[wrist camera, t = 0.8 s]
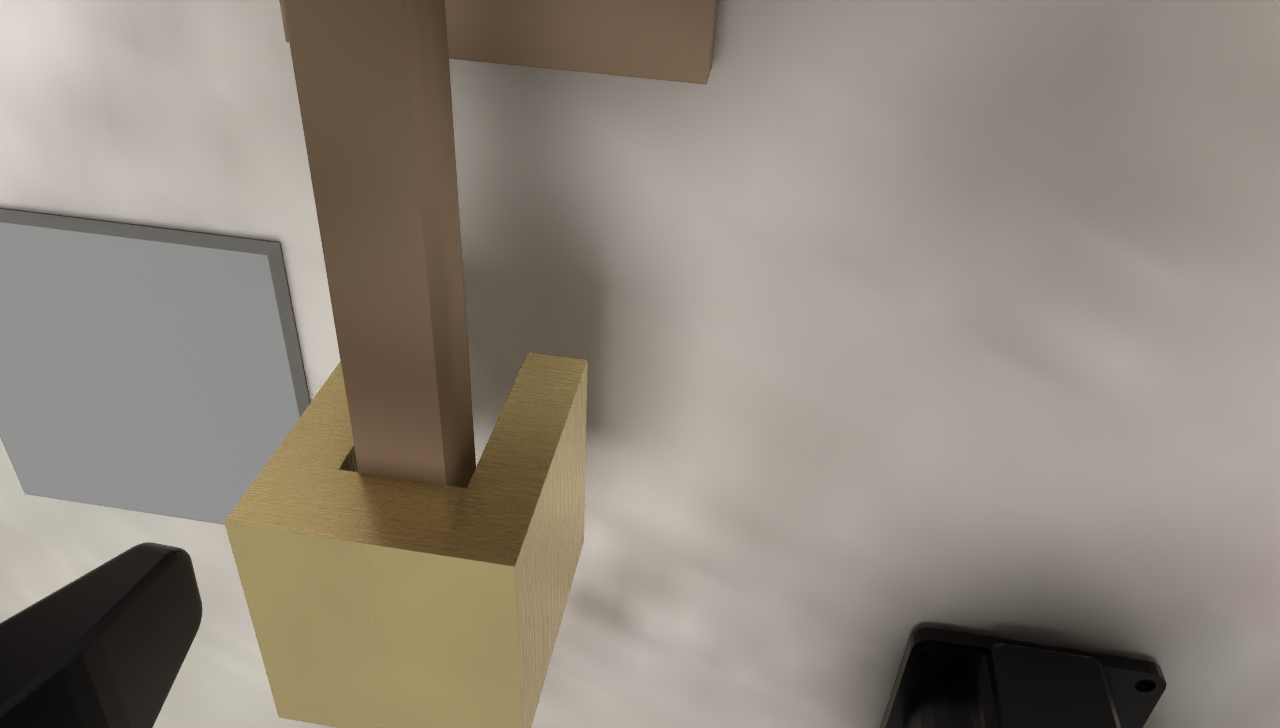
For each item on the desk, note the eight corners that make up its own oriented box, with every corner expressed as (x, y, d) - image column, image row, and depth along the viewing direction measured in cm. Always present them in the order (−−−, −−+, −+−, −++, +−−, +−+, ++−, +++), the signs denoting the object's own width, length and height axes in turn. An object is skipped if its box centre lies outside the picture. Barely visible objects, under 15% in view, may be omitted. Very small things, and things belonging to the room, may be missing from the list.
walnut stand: (668, 536, 25) (623, 778, 20) (378, 493, 26) (255, 714, 21) (763, -496, 14) (720, -628, 8) (228, -517, 14) (-157, -653, 9)
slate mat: (333, 524, 27) (323, 539, 27) (38, 480, 28) (25, 494, 28) (279, 243, 22) (267, 255, 22) (-79, 199, 23) (-99, 210, 22)
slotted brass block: (583, 540, 22) (522, 759, 17) (388, 511, 22) (279, 717, 18) (587, 359, 19) (515, 566, 14) (362, 331, 19) (224, 522, 15)
